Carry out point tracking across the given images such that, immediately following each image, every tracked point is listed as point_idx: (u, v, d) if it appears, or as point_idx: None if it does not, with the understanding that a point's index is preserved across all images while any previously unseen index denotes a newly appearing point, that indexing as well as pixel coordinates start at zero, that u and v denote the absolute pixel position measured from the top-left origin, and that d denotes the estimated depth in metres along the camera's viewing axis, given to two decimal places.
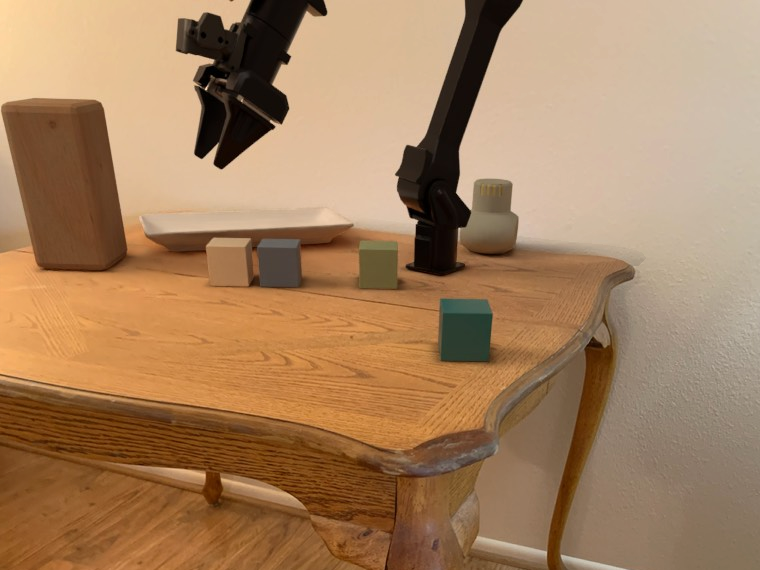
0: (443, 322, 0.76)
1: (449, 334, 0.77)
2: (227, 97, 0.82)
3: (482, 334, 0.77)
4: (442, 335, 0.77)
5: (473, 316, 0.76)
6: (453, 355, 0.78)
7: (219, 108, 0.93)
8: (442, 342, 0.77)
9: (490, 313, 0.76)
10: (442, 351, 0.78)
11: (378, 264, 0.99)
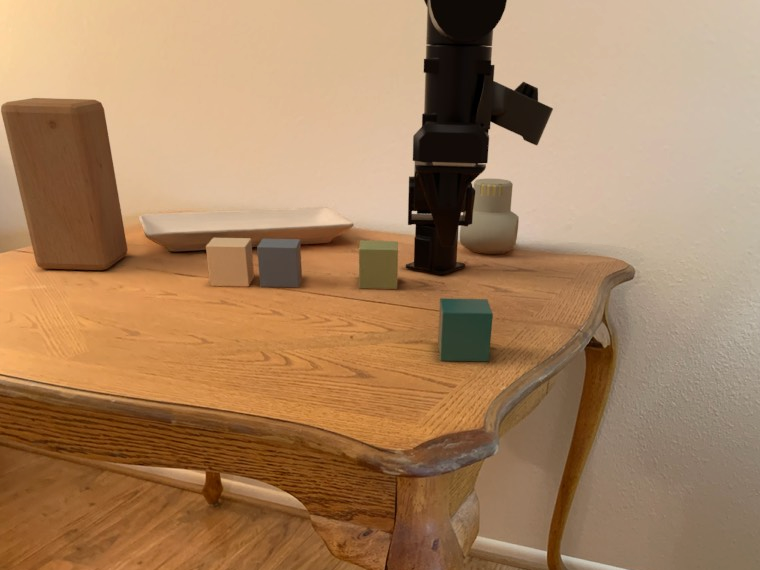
0: (443, 322, 0.76)
1: (449, 334, 0.77)
2: None
3: (482, 334, 0.77)
4: (442, 335, 0.77)
5: (473, 316, 0.76)
6: (453, 355, 0.78)
7: None
8: (442, 342, 0.77)
9: (490, 313, 0.76)
10: (442, 351, 0.78)
11: (378, 264, 0.99)
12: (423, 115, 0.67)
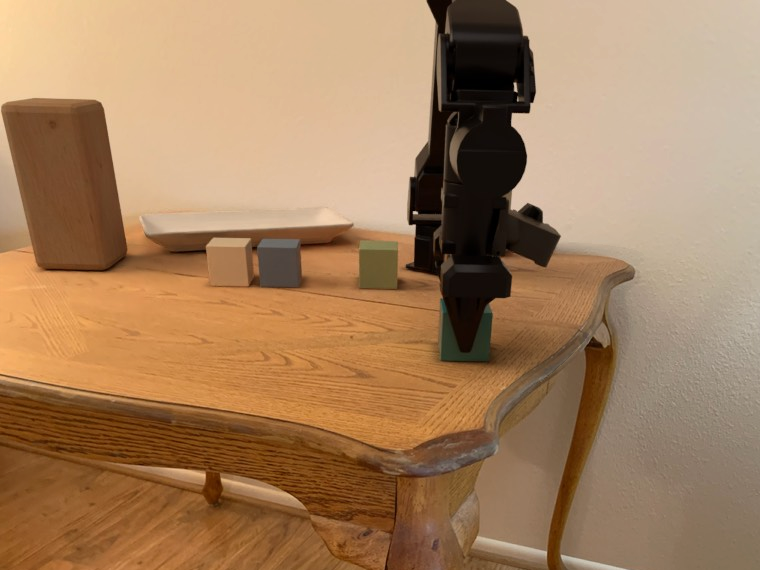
0: (443, 322, 0.76)
1: (449, 334, 0.77)
2: None
3: (482, 334, 0.77)
4: (442, 335, 0.77)
5: None
6: (453, 355, 0.78)
7: None
8: (442, 342, 0.77)
9: (490, 313, 0.76)
10: (442, 351, 0.78)
11: (378, 264, 0.99)
12: (443, 244, 0.72)
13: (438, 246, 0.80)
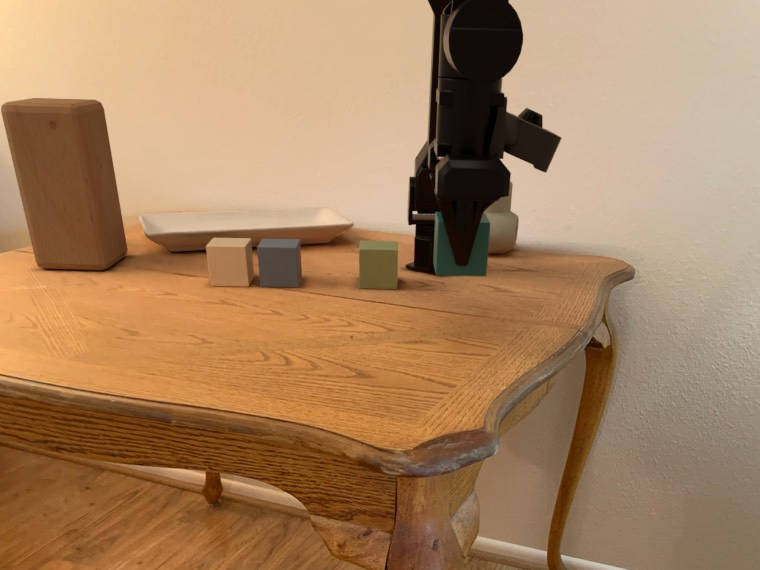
0: (438, 233, 0.73)
1: (445, 245, 0.74)
2: None
3: (479, 245, 0.74)
4: (437, 247, 0.74)
5: None
6: (449, 269, 0.75)
7: None
8: (437, 255, 0.74)
9: (487, 223, 0.73)
10: (437, 265, 0.75)
11: (378, 264, 0.99)
12: (438, 145, 0.69)
13: (433, 157, 0.77)
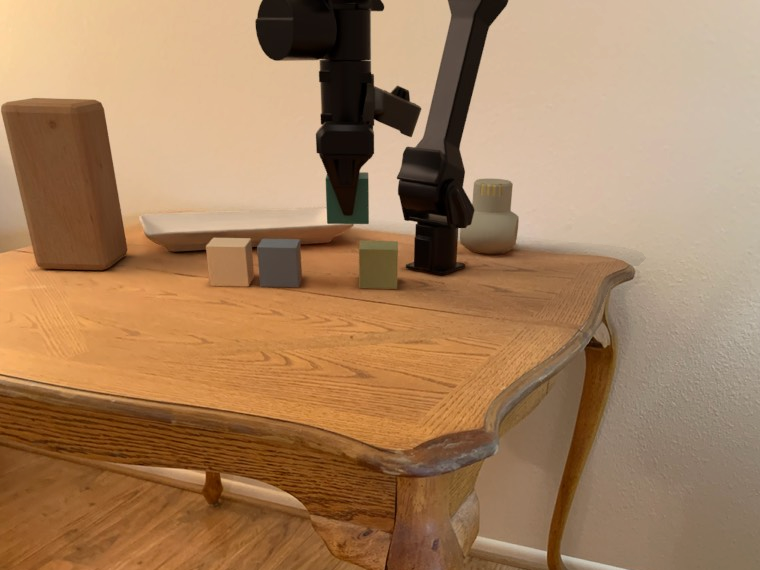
0: (326, 187, 0.90)
1: (332, 198, 0.90)
2: None
3: (361, 198, 0.90)
4: (327, 199, 0.90)
5: None
6: (337, 218, 0.91)
7: None
8: (327, 206, 0.91)
9: (366, 179, 0.89)
10: (328, 214, 0.91)
11: (378, 264, 0.99)
12: (321, 115, 0.86)
13: None
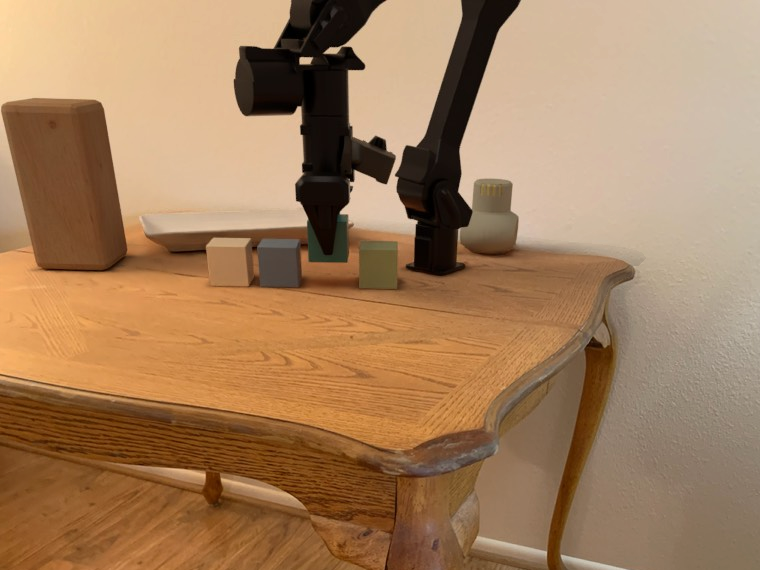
0: (308, 229, 0.97)
1: (313, 239, 0.97)
2: None
3: (340, 239, 0.97)
4: (308, 240, 0.97)
5: None
6: (318, 257, 0.98)
7: None
8: (308, 246, 0.98)
9: (344, 222, 0.96)
10: (309, 254, 0.98)
11: (378, 264, 0.99)
12: (302, 164, 0.93)
13: None
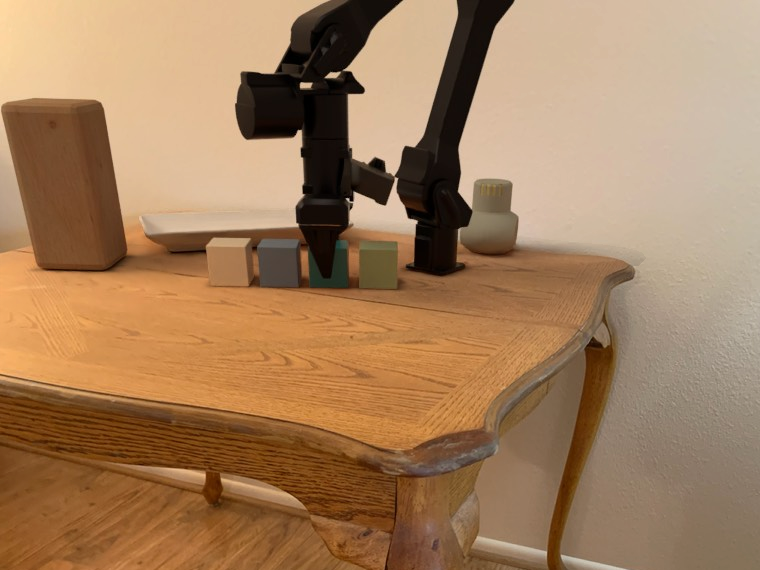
0: (309, 256, 0.98)
1: (314, 265, 0.99)
2: None
3: (340, 265, 0.99)
4: (309, 266, 0.99)
5: None
6: (319, 283, 1.00)
7: None
8: (309, 272, 0.99)
9: (345, 248, 0.98)
10: (310, 279, 1.00)
11: (378, 264, 0.99)
12: (303, 186, 0.94)
13: None
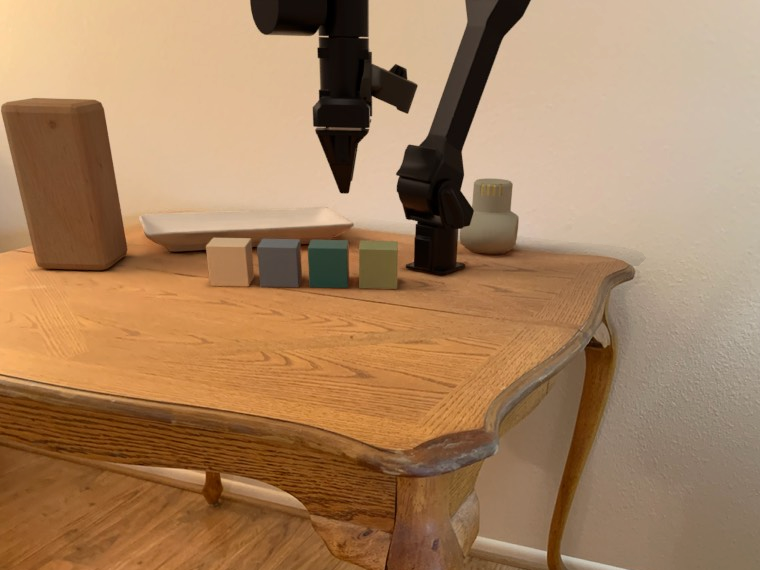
0: (309, 256, 0.98)
1: (314, 265, 0.99)
2: None
3: (340, 265, 0.99)
4: (309, 266, 0.99)
5: (331, 250, 0.98)
6: (319, 283, 1.00)
7: None
8: (309, 272, 0.99)
9: (345, 248, 0.98)
10: (310, 279, 1.00)
11: (378, 264, 0.99)
12: (319, 91, 0.88)
13: None
